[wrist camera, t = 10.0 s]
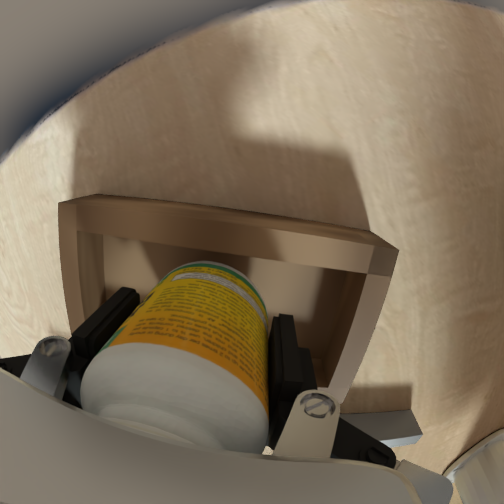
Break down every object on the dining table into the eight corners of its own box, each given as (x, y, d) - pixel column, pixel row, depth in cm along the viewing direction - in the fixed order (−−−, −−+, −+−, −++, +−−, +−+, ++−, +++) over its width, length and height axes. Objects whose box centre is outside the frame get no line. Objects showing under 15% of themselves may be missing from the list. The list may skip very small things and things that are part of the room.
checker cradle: (411, 409, 18) (424, 437, 15) (361, 474, 21) (366, 497, 18) (310, 413, 18) (315, 447, 15) (279, 477, 21) (279, 503, 18)
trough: (371, 231, 14) (399, 250, 11) (331, 365, 16) (342, 403, 13) (96, 193, 14) (58, 202, 11) (102, 326, 17) (76, 355, 13)
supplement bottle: (251, 368, 14) (235, 550, 4) (150, 340, 13) (63, 495, 4) (283, 274, 12) (312, 500, 3) (163, 242, 12) (-3, 390, 3)
